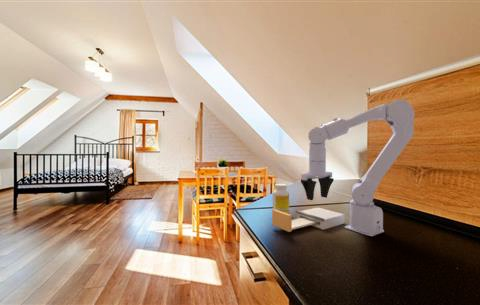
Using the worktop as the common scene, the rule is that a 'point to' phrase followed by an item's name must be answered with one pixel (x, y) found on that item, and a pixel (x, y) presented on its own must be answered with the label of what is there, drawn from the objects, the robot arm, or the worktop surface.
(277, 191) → the supplement bottle
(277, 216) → the tan and white l-shape
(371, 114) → the robot arm
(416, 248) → the worktop surface
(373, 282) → the worktop surface
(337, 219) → the dispenser
